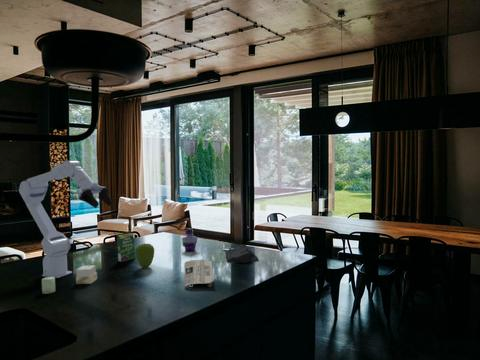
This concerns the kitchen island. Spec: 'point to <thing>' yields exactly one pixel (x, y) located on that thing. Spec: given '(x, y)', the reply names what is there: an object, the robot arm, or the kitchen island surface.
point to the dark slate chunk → (240, 255)
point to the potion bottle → (189, 241)
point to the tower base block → (86, 279)
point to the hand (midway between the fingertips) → (104, 205)
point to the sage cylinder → (48, 285)
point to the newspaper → (198, 272)
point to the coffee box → (125, 247)
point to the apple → (144, 255)
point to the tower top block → (86, 271)
